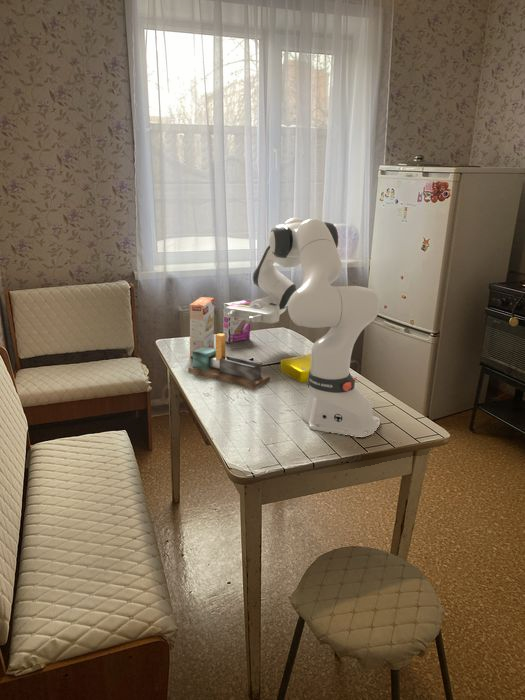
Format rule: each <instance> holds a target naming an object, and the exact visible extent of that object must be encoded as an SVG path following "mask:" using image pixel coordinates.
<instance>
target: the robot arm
mask: <svg viewBox="0 0 525 700" xmlns="http://www.w3.org/2000/svg"><path fill="white" fill-rule="evenodd" d="M268 242H269V243H268V244H269V245H268V246H267V247H266V249H265V250H264V253H263V255H262V257H261V259H260V261H259V264H258V266H257V267H256V269H255V270H254V271H253V274H252V281H253V284H254V285H256V287H258V288H259V289H261V290H262V291H264V292H265V294H267V296H265V297H262V298H261V297H260V298H258V299H255V300H253V301H251V302H250V305H249V306H246V305H232V306H228V307H226V315H227V316H228V318H240V319H246V320H249V321H250V323H259V324H261V323H266V324H274V323H279V322H280V317H281V316H280V315H282V314H283V313H285V311H287V312H288V316H289V318H290V319H291V321H292V322H293V323H294V324H295V325H296V326H298V327H299V326H300V327H305V328H314V329H315V328H329V327H330V329H328V331H327V332H326V333H325V334H324V335H323V336H321V337H319V338H318V339H317V340H316V341H315V342H314V343H313V345H312V346H311V349H310V350H311V353H310V354H311V369H310V370H309V376H308V382H307V387H308V391H307V398H306V401H305V405H304V409H303V410H302V411H303V412H302V416H301V417H302V419H303V420H304V421H305V422H306V423H307V425H308V427H309V429H311V430H314V431H319V432H325V433H329V432H331V433H330V434H334V433H339V434H338V435H340V434H347V435H353V436H366V435H368V434H371V433H372V432H373V431H375V430H376V429H377V427H378V426H379V425H380V426H381V420H380V418H379V417H378V416H376V415H374V411H373V403H371V401H370V400H369V399H368V398H367V397H366V396H364V394H362V393H361V392H360V390H358V389H357V388H356V386H355V383H356V382H357V381H358V376H355V377H353V376H352V375H351V372H350V367H351V358H352V353H353V349H354V346H355V343H356V341H357V340H358V337H359V336H360V334H362V331H364V329H365V328H366V327H367V326H368V325H370V324H371V323H372V322H373V321H374V320H375V319H376V318H377V316H378V315H379V313H380V304H381V303H380V299H379V297H378V294H377V293H376V292H375V290H374V289H372V288H369V287H366V286H365V287H364V286H360V285H359V286H358V285H344V286H343V285H342V286H341V285H340V286H335V285H334V286H333V285H331V284H333V283H334V282H335V281H336V280H338V278H340V276H341V274H342V271H343V263H342V261H341V258H340V254H339V251H338V247H339V232H338V229H337V227H336V226H335V225H334V224H333V223H330V222H327V221H323V220H321V219H319V218H309V219H306V220H305V219H303V218H301V217H291V218H288V219H287V220H286V221H285V222H284V223H280V224H277V225H274V226H273V228H271V230H270V235H269V238H268ZM274 263H276V264H278V265H279V266H281V267H284V268H294V267H297V266H299V265H301V268H302V272H303V279H302V283H301V285H300V286H298V287H299V288H298V289H297V286H296V284H294V283H293V281H291V280H290V279H289V278H288V277H287V276H285V275H284V274H283V273H282V272H280V271H279V270H278V269H277V268H276V267H275V266H274ZM375 421H377V422H375ZM365 432H367V433H365Z"/></svg>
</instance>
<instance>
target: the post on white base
mask: <svg viewBox="0 0 525 700" xmlns="http://www.w3.org/2000/svg"><path fill="white" fill-rule="evenodd" d="M215 349H216V356H213V355H212V356H210V357H209V366H211V367H215V368H219V369H220V359H221V358H222V359H226V360H230V359H227V358H226V342H225V334H223V333H217V334H215ZM230 361H232V360H230Z"/></svg>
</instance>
